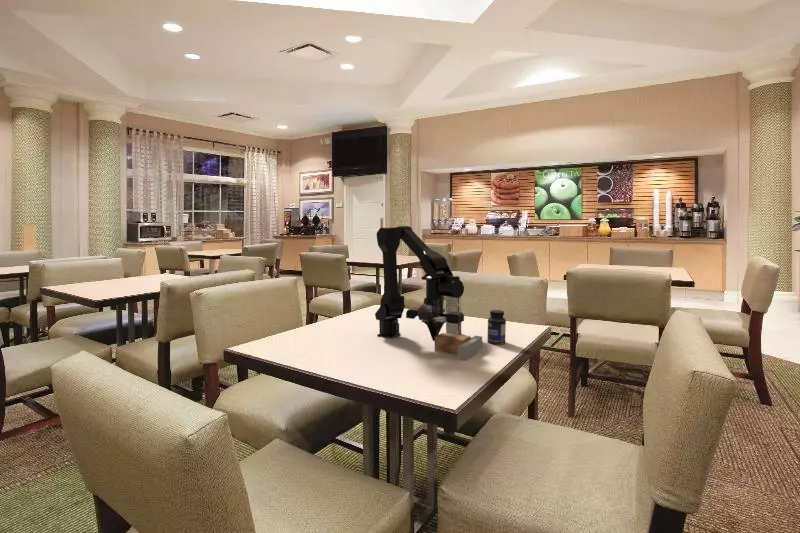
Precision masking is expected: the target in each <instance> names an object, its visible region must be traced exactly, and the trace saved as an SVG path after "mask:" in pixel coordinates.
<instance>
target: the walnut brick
mask: <svg viewBox="0 0 800 533" xmlns="http://www.w3.org/2000/svg"><path fill="white" fill-rule="evenodd" d="M469 339H471V336H470V335H463V334H461V335H455V334H447V333H446V332H441V333H439V335H437V336H435V341H434V352H437V353H442V354H443V353H444V354H448V355H449V354H450V355H456V356H458V346H459V345H461V344H463V343H464V342H466V341H468V340H469Z"/></svg>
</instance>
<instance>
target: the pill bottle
mask: <svg viewBox="0 0 800 533" xmlns="http://www.w3.org/2000/svg"><path fill="white" fill-rule="evenodd" d="M489 315H490V317H488V319H487V343H488V344H492V345H504V344H505V343H506V331H507V328H506V327H507V326H506V325H507V323H506V322H507V320H506V318H505V317H504V315H505V312H504V310H500V309H492V310H489Z"/></svg>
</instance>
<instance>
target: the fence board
mask: <svg viewBox="0 0 800 533" xmlns="http://www.w3.org/2000/svg"><path fill="white" fill-rule="evenodd" d="M482 349H483V336H481V335H474V336H473V337H470V339H469V340H468V341H466V342H464V343H463V344H461V345H459V346H458V355H457V360H460V361H461V360H462V361H467V360H468V359H469V358H470V357H472V356H473V355H475V354H476V353H478V352H479V351H480V350H482Z"/></svg>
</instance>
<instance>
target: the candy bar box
mask: <svg viewBox="0 0 800 533" xmlns="http://www.w3.org/2000/svg"><path fill="white" fill-rule="evenodd" d="M452 311H454V312H462V296H461V297H460V298H453V297H447V296H445V314H448V313H450V312H452ZM445 333H447V334H455V335H462V334H463V333H462V322H460V323H458V324H453V323H448V322H445Z"/></svg>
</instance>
